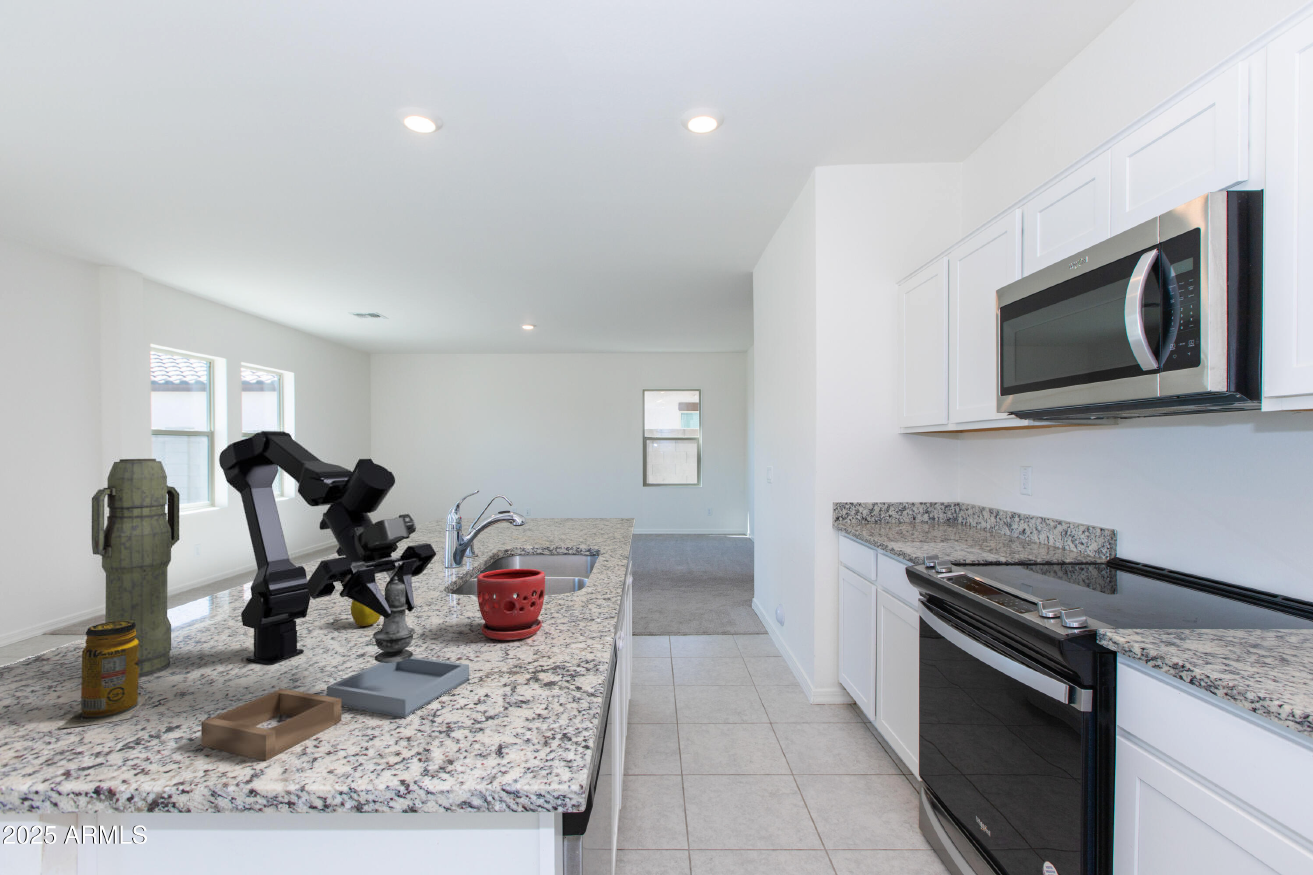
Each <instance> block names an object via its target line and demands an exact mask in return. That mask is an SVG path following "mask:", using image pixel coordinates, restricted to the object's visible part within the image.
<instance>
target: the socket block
mask: <svg viewBox="0 0 1313 875" xmlns="http://www.w3.org/2000/svg"><path fill="white" fill-rule="evenodd" d="M284 715H287V716H286V717H290V716H293V717H291V718H288V719H286V720H284V721H282V722H281V723H278V724H276V725H274V726H271V727H270V728H264V727H258V725H260V724H263V723H265V722H268V721H269V720H271V719H274V718H275V717H278V716H284ZM340 721H341V722H342V707H341V699H340V698H334V697H328V696H327V695H320V694H315V693H311V692H310V693H309V692H303V691H300V690H299V691H298V690H292V689H288V688H287V689H286V688H279V689H277V690H275V691H274V690H273V691H272V692H269V693H267V694H265V695H261V696H260V697H257V698H256V699H252V700H250V701H248V702H245V703H243V704H241V705H239V706H238V705H237V706H235V707H234V708H231V709H229V710H226V711H223V712H221V713H220V714H216V715H214V716H211V717H210V718H207V719H205V720H202V721H201V722H200V723H201V724H200V725H201V729H200V730H201V734H200V736H201V737H200V738H201V740H200V741H201V744H200V745H201V747H204V748H209V749H213V750H218V751H222V752H225V753H230V754H234V755H239V756H243V757H247V758H248V757H249V758H251V759H256V760H260V761H264V762H266V761H269V760H270V759H273V758H274V757H276V756H277V755H280V754H283V753H284V752H286V751H287V750H289V749H292V748H293V747H295V746H297V745H299V744H301V743H303V742H305V741H306V740H308V739H310V738H312V737H313V736H316V735H317V734H320V733H322V732H324V731H325V730H327V729H330V728H331V727H333V726H335V725H337V724H339V723H341V722H340Z"/></svg>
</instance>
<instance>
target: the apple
mask: <svg viewBox="0 0 1313 875" xmlns="http://www.w3.org/2000/svg"><path fill="white" fill-rule="evenodd" d="M350 615H351V617H352V619H353V622H354V623H355V624H356V625H357V626H358V627H365V626H366V627H367V626H370V625H374V624H377V623H378V622H379V621H380V619H381V617H382V616H381V615H379V614H378V613H376V612H374V611H373V610H371V609H369V608H368V607H366V606H364V605H362V604H360V603H358V602H356V601H354V600H352V601H351V604H350Z"/></svg>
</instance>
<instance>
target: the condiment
mask: <svg viewBox="0 0 1313 875" xmlns="http://www.w3.org/2000/svg"><path fill="white" fill-rule="evenodd" d="M135 627H136V625H135V622H133V621H128V620H122V621H112V622H106V623H105V622H103V623H102V622H101V623H99V624H94V625H92V626H90V627H88V628H87V629H86V631H85V635H86V639H85V646H84V648H83V649H82V650H81V684H80V685H81V686H80V687H81V688H80V691H81V692H80V693H81V696H80V709H79V710H77V712H76V713H74V715H72V716H70V717H68V719H66V721H65V722H64V723H63V724H61V726H60V727H59V729H63V728H76V727H84V726H91V725H96V724H97V725H98V724H99V725H103V724H105V723H109V722H118V721H122V720H129V719H131V718H132V716H133V715H134V714H135V712H136V711H137V710H138V709H140V707H141V706H142V705H143V704H144V703H145V701H146V700H147V699H148V698H149V696H150V695H141V696H139V681H140V680H139V678H140V677H139V675H138V674H139V673H138V672H139V670H138V668H139V658H138V657H139V641H138V640H137V639H136V638H135V636H136V631H135Z"/></svg>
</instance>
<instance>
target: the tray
mask: <svg viewBox="0 0 1313 875" xmlns="http://www.w3.org/2000/svg"><path fill="white" fill-rule="evenodd" d="M469 681H470V664H469V663H468V664H467V663H461V662H452V661H445V660H438V659H433V658H423V657H417V656H412V657H411V658H409V659H407V660H404V661H400V662H393V663H381V662H378V663H376V664H374V665H372V666H370V667H368V668H365V669H362V670H360V671H358V672H357V673H354V674H352V675H349V676H348V677H345V678H343V679H339V680H338V681H336V682H333V683H331V684H329V685H327V686H326V696H328V697H334V698H340V699H341V706H346V707H349V708H348V709H352V708H354V709H353V710H359V711H363V710H365V711H364V712H369V713H376V714H380V713H382V714H381V715H385V714H386V716H392V717H398V718H402V717H407V716H408V717H410V716H411V715H410V714H411V713H413V714H415V713H416V712H415V711H417V710H418V711H420V710H421V709H420V708H422V707H423V706H425V705H427V704H429V703H430V702H432V701H433V700H435V699H437V698H439V697H440V696H442V695H444V694H445V695H447V694H448V693H447V692H449V691H450V692H452V691H453V690H452V689H454V690H455V688H456V687H457V688H459V687H461V686H462V685H464V684H466V683H467V682H469ZM465 682H466V683H465ZM463 683H464V684H463ZM460 685H461V686H460ZM458 686H459V687H458ZM457 688H456V689H457ZM451 690H452V691H451ZM450 692H449V693H450ZM446 693H447V694H446ZM445 695H444V696H445ZM442 697H443V696H442ZM440 698H441V697H440ZM440 698H439V699H440ZM437 700H438V699H437ZM435 701H436V700H435ZM432 703H433V702H432ZM430 704H431V703H430ZM430 704H429V705H430ZM427 706H428V705H427ZM346 707H345V708H346ZM425 707H426V706H425ZM423 708H424V707H423ZM423 708H422V709H423ZM419 709H420V710H419ZM418 711H417V712H418ZM414 712H415V713H414ZM409 715H410V716H409ZM408 717H407V718H408Z"/></svg>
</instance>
